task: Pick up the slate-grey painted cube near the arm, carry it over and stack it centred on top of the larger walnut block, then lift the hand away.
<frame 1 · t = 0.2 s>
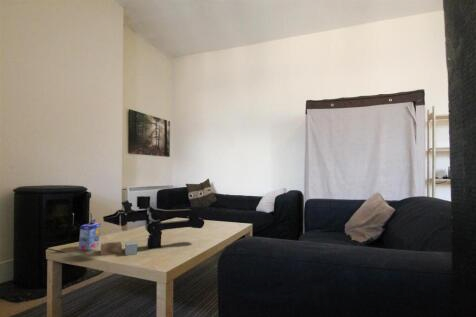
hand: (103, 218, 127), 16 cm above the table, tool horizontal, fingers open, 9 cm apart
walnut block: (110, 252, 128), on the table
slate cube: (130, 253, 126), on the table
ink cartridge box: (89, 248, 135), on the table
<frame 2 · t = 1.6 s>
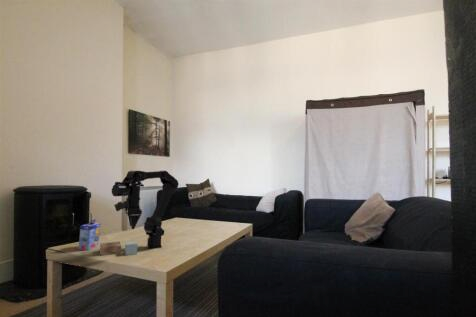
hand: (131, 227, 127), 12 cm above the table, tool pointing down, fingers open, 9 cm apart
nothing on the table moved.
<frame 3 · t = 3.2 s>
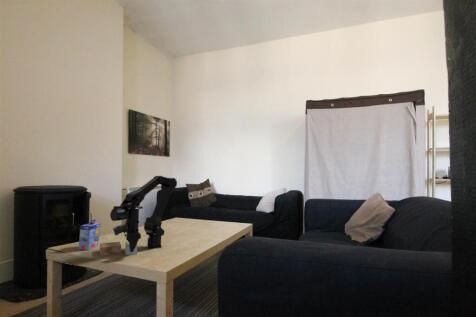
hand: (131, 250, 126), 1 cm above the table, tool pointing down, fingers closed on slate cube, 5 cm apart
slate cube: (130, 253, 126), on the table, touching gripper
everything else where it was.
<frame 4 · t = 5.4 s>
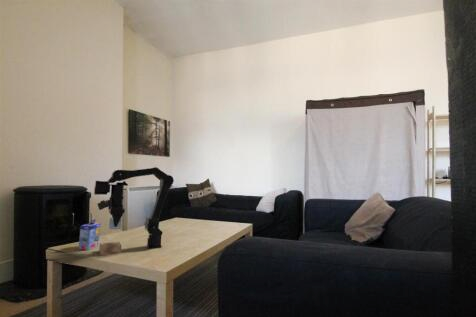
hand: (115, 225, 129), 13 cm above the table, tool pointing down, fingers closed on slate cube, 5 cm apart
slate cube: (114, 228, 129), point 12 cm above the table, touching gripper
everything else where it was.
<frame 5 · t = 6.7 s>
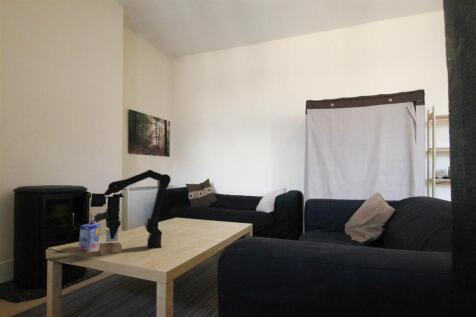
hand: (111, 237, 129), 7 cm above the table, tool pointing down, fingers closed on slate cube, 5 cm apart
slate cube: (111, 240, 129), point 5 cm above the table, touching gripper
everything else where it was.
when the fingers open (7 cm above the table, at t = 7.4 s): slate cube drops 2 cm, point 4 cm above the table.
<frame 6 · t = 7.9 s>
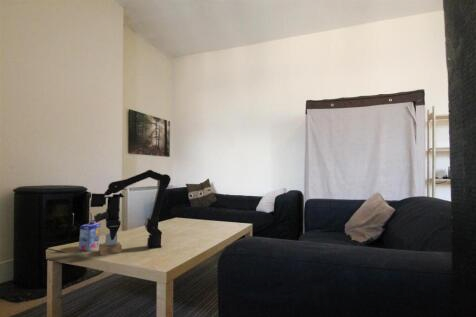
hand: (111, 237, 129), 7 cm above the table, tool pointing down, fingers open, 9 cm apart
slate cube: (111, 244, 129), point 4 cm above the table
everything else where it was.
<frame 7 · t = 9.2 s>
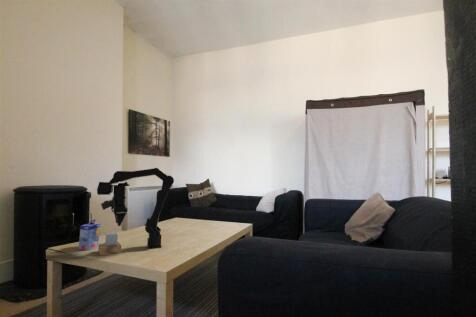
hand: (118, 224, 135), 12 cm above the table, tool pointing down, fingers open, 9 cm apart
walnut block: (109, 252, 127), on the table, touching slate cube
slate cube: (111, 244, 128), point 4 cm above the table, touching walnut block
everything else where it was.
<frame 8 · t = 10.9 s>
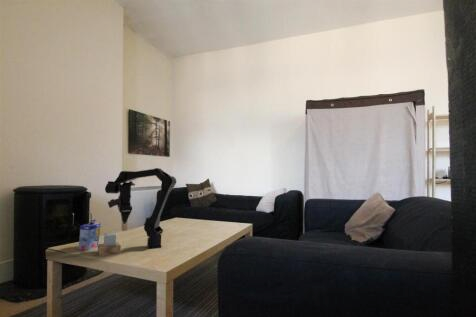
hand: (123, 222, 141), 13 cm above the table, tool pointing down, fingers open, 9 cm apart
walnut block: (108, 253, 127), on the table
slate cube: (109, 244, 128), point 4 cm above the table
everything else where it was.
at the end: slate cube 0.2 cm off-centre on the walnut block, point 4.0 cm above the walnut block's base; slate cube tilted 0°; the gripper is holding nothing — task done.
